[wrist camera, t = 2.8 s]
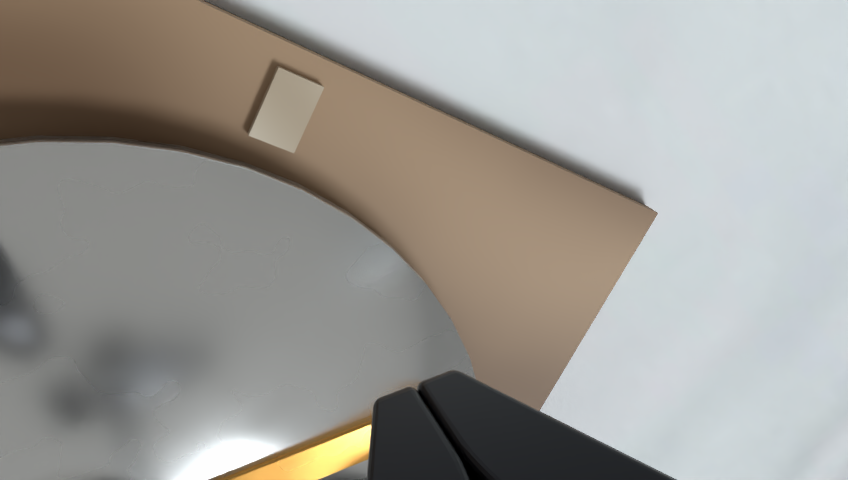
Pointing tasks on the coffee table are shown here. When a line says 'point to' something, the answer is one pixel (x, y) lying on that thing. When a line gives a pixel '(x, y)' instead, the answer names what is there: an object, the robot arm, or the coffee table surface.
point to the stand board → (340, 162)
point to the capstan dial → (195, 318)
